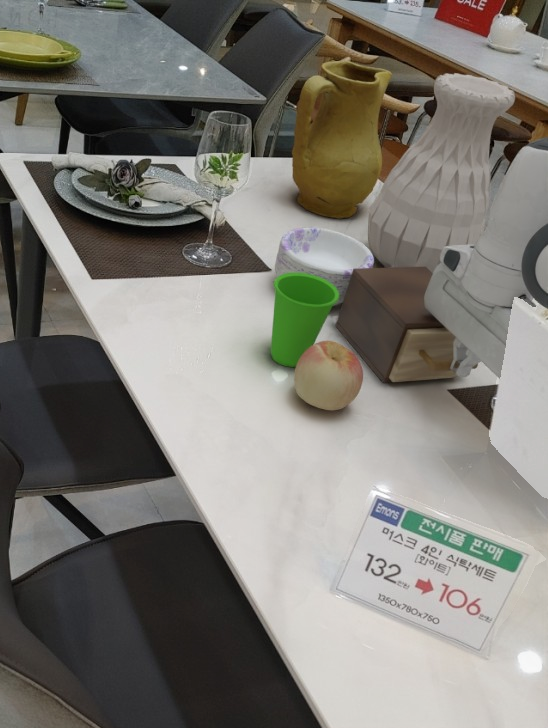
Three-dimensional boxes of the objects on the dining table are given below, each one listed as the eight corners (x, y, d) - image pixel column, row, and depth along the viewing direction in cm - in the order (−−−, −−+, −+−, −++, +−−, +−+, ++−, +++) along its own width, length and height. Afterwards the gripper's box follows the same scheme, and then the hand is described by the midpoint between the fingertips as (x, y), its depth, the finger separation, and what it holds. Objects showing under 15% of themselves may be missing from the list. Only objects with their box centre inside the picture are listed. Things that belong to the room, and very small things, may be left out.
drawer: (476, 394, 109) (499, 347, 103) (407, 400, 106) (428, 351, 100) (410, 324, 121) (427, 279, 116) (346, 328, 118) (362, 281, 113)
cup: (244, 351, 111) (260, 281, 103) (285, 334, 116) (303, 266, 108) (290, 382, 107) (310, 311, 99) (330, 363, 112) (352, 294, 104)
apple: (303, 376, 108) (318, 326, 103) (361, 401, 106) (379, 351, 100) (277, 403, 103) (291, 352, 97) (337, 430, 100) (356, 379, 94)
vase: (404, 301, 129) (477, 108, 108) (333, 247, 141) (386, 65, 120) (487, 285, 137) (569, 104, 116) (413, 236, 149) (475, 64, 128)
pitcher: (376, 227, 149) (413, 83, 132) (280, 217, 149) (306, 73, 132) (365, 196, 162) (398, 61, 145) (277, 187, 162) (300, 52, 145)
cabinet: (456, 377, 113) (483, 319, 107) (382, 383, 110) (405, 323, 103) (404, 322, 124) (425, 266, 117) (335, 325, 120) (353, 268, 113)
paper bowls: (356, 325, 121) (371, 279, 115) (262, 302, 122) (273, 255, 117) (364, 284, 132) (378, 239, 126) (278, 263, 133) (288, 218, 128)
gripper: (577, 319, 88) (524, 417, 97) (475, 240, 101) (437, 332, 111) (533, 322, 86) (483, 421, 95) (435, 241, 99) (400, 335, 109)
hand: (458, 373), depth 103 cm, fingers closed
